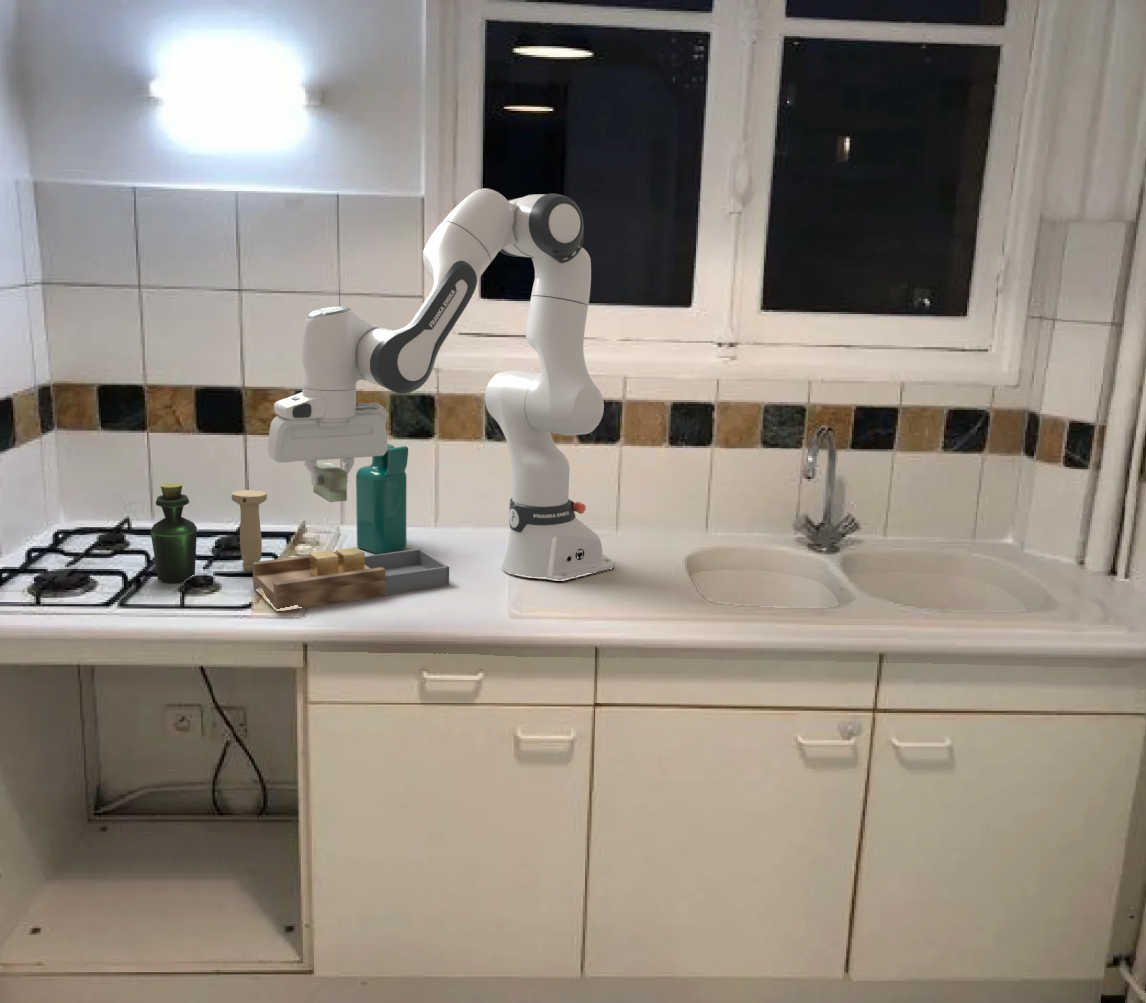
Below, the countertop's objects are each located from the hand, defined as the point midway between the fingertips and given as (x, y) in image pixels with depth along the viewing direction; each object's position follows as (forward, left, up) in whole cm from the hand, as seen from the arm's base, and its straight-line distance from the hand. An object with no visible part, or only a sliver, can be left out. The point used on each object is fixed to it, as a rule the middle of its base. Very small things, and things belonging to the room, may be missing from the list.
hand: (329, 484), depth 187 cm
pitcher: (-21, -28, -22) cm, 42 cm away
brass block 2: (-6, -8, -19) cm, 21 cm away
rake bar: (0, 0, -2) cm, 2 cm away
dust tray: (-17, -8, -22) cm, 29 cm away
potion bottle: (+21, -26, -22) cm, 40 cm away
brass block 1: (-1, -8, -19) cm, 20 cm away
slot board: (0, -8, -22) cm, 23 cm away
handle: (+7, -26, -22) cm, 35 cm away
